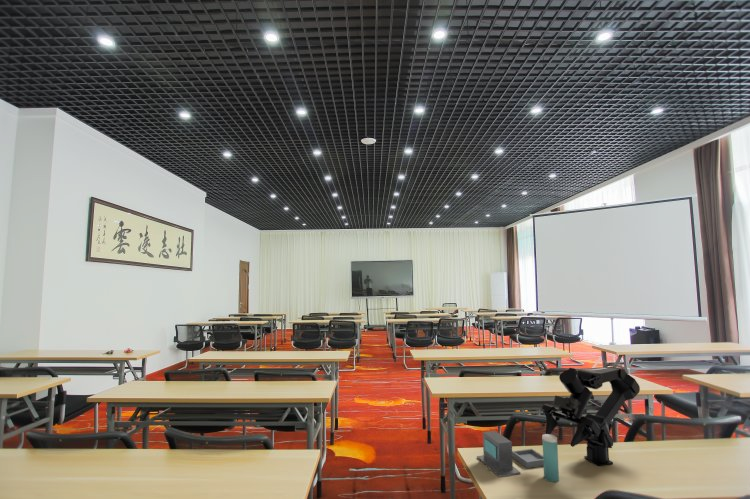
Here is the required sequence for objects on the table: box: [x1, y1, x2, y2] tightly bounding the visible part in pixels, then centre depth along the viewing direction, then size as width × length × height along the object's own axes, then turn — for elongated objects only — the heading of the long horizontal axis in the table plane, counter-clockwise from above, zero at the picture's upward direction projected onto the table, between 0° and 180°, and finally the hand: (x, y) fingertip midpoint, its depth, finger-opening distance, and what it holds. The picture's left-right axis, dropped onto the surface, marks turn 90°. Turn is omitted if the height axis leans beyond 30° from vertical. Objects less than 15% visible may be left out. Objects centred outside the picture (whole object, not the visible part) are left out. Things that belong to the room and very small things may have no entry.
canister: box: [541, 433, 560, 483], centre depth 120 cm, size 4×4×13 cm
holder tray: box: [512, 448, 544, 469], centre depth 131 cm, size 9×9×2 cm
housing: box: [476, 430, 521, 478], centre depth 129 cm, size 8×14×10 cm, turn 15°
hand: (558, 440), depth 123 cm, fingers open, 9 cm apart
